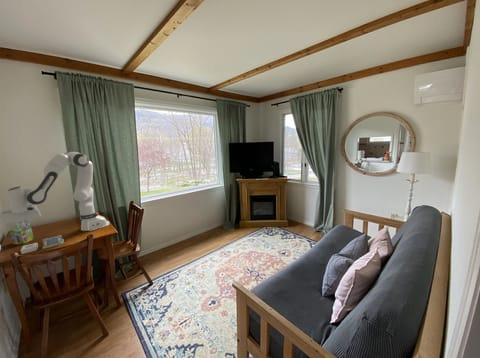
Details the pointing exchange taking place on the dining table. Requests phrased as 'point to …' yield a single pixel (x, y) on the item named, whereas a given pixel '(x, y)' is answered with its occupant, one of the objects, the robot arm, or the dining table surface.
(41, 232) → the dining table surface
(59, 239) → the peg rack
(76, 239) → the dining table surface
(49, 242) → the bar
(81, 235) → the dining table surface
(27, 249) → the slot block
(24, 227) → the steel pin
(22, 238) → the chalk box
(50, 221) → the dining table surface
